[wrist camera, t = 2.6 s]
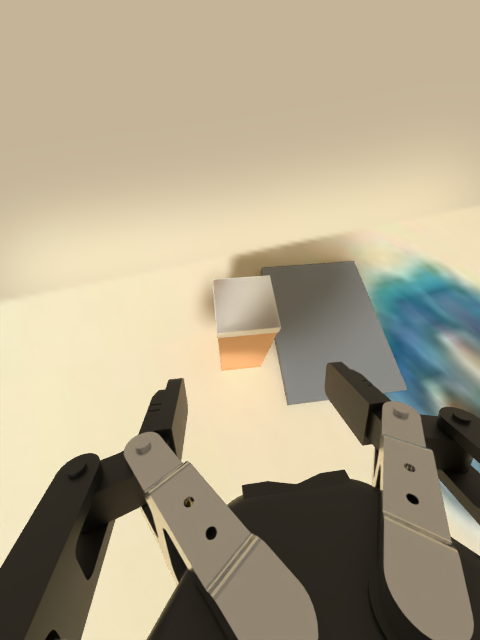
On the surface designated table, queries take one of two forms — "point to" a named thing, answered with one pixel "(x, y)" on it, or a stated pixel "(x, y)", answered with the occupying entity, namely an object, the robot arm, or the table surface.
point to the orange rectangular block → (244, 320)
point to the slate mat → (328, 329)
